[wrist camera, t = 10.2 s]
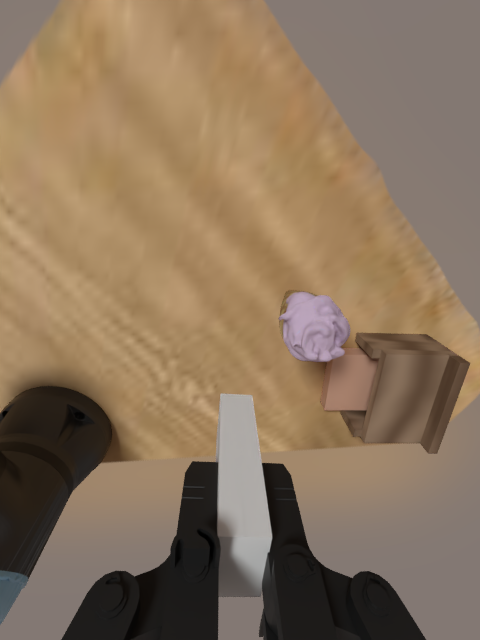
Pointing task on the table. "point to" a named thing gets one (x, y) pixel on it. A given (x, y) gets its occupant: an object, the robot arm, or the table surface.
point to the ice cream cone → (312, 326)
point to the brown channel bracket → (408, 390)
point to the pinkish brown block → (349, 381)
